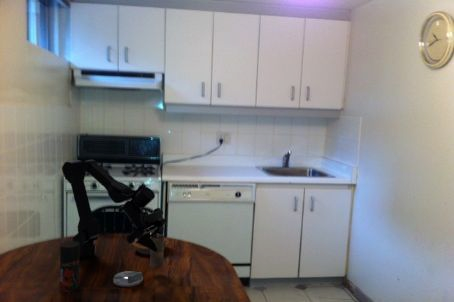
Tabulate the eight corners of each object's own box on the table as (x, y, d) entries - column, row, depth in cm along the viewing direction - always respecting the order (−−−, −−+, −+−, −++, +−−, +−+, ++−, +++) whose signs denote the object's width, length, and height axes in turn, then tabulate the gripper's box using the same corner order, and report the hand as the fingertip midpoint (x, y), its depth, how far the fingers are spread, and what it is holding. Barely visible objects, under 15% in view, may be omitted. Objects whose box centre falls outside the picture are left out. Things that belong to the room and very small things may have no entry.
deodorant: (82, 285, 130) (83, 242, 128) (70, 293, 124) (70, 248, 123) (68, 282, 132) (69, 240, 130) (55, 289, 126) (55, 245, 125)
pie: (144, 241, 175) (144, 231, 175) (174, 247, 170) (175, 236, 170) (124, 252, 161) (124, 241, 160) (156, 259, 156) (157, 247, 155)
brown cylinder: (150, 268, 138) (151, 237, 137) (149, 263, 143) (150, 233, 142) (163, 267, 140) (164, 237, 138) (162, 262, 144) (163, 232, 143)
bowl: (107, 279, 135) (108, 270, 135) (131, 271, 142) (132, 262, 142) (124, 289, 128) (124, 279, 128) (148, 280, 136) (148, 271, 136)
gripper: (134, 207, 132) (160, 244, 129) (163, 197, 149) (187, 229, 146) (115, 226, 135) (140, 262, 133) (145, 213, 153) (168, 245, 150)
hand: (160, 248), depth 140 cm, fingers closed on brown cylinder, 5 cm apart
